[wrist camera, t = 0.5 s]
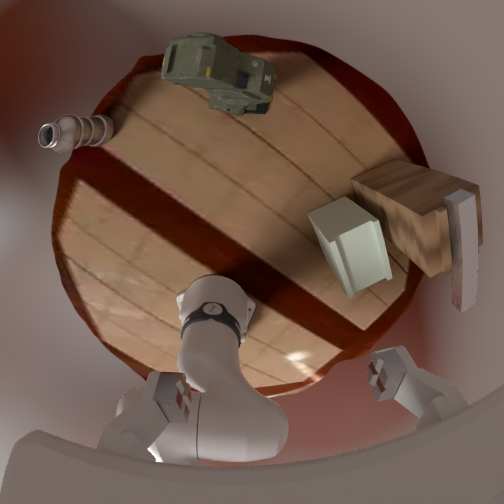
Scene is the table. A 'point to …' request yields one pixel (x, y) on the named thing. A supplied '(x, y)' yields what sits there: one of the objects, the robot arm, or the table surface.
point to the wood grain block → (414, 210)
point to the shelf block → (351, 244)
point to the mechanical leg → (220, 73)
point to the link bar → (463, 247)
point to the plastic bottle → (76, 132)
